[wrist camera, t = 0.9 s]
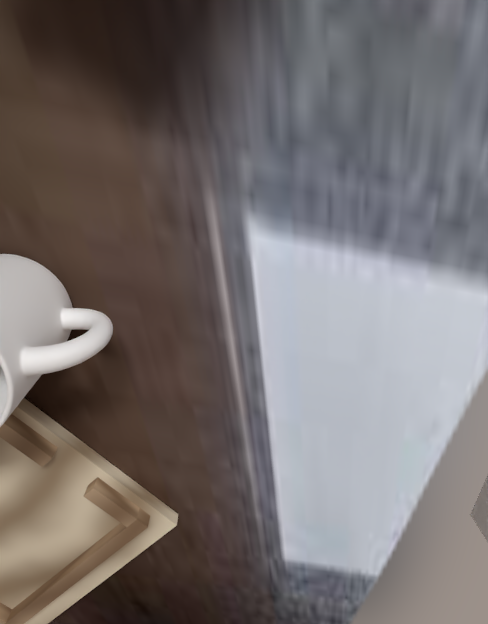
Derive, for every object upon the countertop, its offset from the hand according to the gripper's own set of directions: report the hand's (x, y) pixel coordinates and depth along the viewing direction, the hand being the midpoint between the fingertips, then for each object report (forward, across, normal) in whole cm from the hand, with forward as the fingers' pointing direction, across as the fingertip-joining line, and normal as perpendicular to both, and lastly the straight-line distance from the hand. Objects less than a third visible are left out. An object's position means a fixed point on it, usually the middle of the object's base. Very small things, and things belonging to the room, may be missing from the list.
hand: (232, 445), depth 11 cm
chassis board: (+21, -16, -25) cm, 37 cm away
